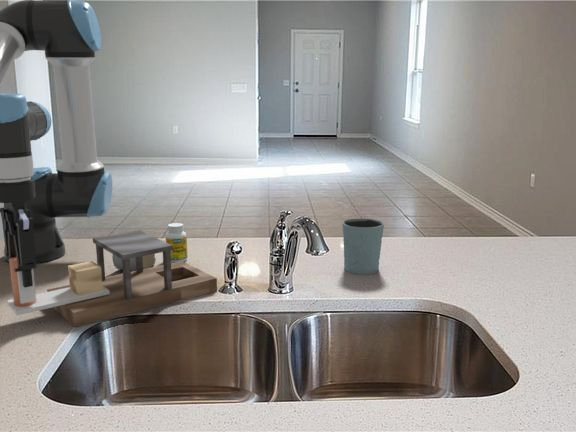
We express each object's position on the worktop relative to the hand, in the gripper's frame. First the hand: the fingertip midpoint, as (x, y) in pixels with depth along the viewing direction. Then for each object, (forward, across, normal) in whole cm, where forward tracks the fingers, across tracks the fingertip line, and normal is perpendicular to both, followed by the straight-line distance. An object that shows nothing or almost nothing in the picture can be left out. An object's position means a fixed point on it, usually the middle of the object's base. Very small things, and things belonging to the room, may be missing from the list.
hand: (24, 297), depth 114 cm
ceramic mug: (+5, -18, +31) cm, 37 cm away
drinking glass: (+5, +17, +76) cm, 78 cm away
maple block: (+1, 0, +12) cm, 12 cm away
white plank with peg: (+2, 0, +7) cm, 7 cm away
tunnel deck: (+5, 0, +22) cm, 23 cm away
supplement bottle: (+5, -18, +42) cm, 46 cm away
